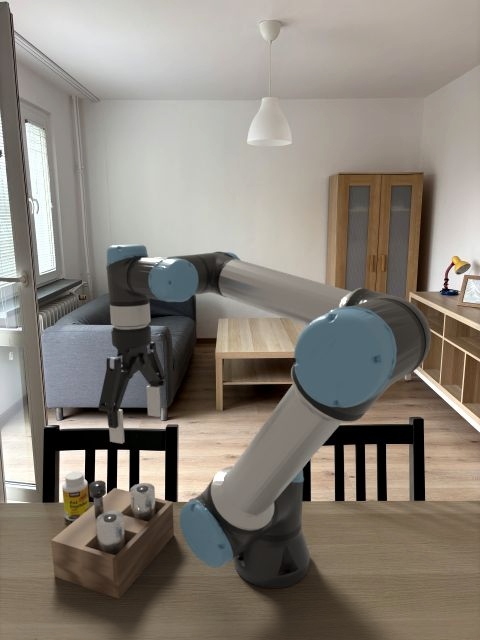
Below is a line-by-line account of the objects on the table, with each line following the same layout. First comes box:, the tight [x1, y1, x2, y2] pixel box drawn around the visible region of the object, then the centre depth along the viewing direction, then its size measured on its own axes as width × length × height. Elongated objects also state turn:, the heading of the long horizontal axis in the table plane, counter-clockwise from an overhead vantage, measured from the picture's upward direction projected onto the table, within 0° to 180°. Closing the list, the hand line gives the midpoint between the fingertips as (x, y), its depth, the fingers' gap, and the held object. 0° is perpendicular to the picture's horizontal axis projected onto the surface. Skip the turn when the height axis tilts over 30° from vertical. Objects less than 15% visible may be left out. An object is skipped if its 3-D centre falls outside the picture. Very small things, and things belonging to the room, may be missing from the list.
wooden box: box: [50, 487, 175, 599], centre depth 103 cm, size 15×20×8 cm
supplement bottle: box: [62, 470, 90, 522], centre depth 117 cm, size 6×6×10 cm
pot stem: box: [88, 480, 107, 518], centre depth 103 cm, size 3×3×7 cm
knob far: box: [129, 482, 156, 522], centre depth 106 cm, size 5×5×9 cm
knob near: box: [96, 511, 125, 556], centre depth 96 cm, size 5×5×9 cm
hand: (137, 428), depth 102 cm, fingers open, 13 cm apart
